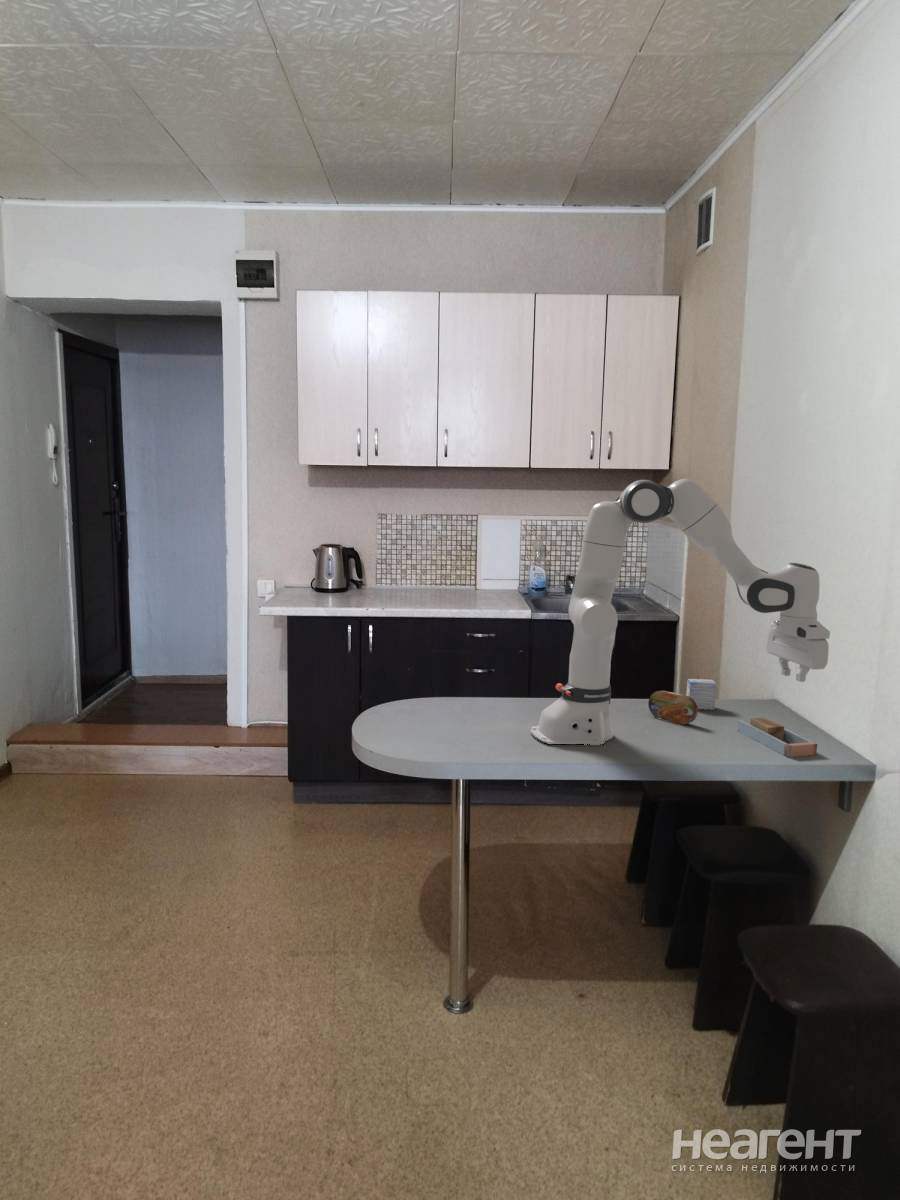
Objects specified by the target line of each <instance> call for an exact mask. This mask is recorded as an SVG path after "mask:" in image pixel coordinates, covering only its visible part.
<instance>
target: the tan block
mask: <svg viewBox="0 0 900 1200" xmlns="http://www.w3.org/2000/svg"><path fill="white" fill-rule="evenodd" d="M749 724H750V725H752V726H754V727H756V728H758V729H760V730H762V731H764V732H766V733H768V734H770V735H772V736H774V737H776V738H777V739H779V740H781V741H783V742H784V740H783V738H784V728H785V726H784V725H782V724H780V723H778V722H776V721H774V720H772V719H771V718H768V717H757V718H756V717H754V718H750V723H749Z"/></svg>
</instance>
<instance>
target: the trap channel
mask: <svg viewBox="0 0 900 1200" xmlns="http://www.w3.org/2000/svg"><path fill="white" fill-rule="evenodd" d="M737 731H738V732H740V733H741V734H743V735H745V736H747V737H749V738H751V739H753V740H754V739H755V740H754V741H756V740H757V742H758V741H759V742H758V743H760V744H762V745H764V746H765V745H767V746H768V748H769V747H770V748H769V749H771V748H772V749H771V750H773V749H774V750H773V751H775V752H777V753H778V752H779V754H780V753H781V755H782V754H783V756H784V757H786V758H795V757H809V756H808V755H810V756H817V750H818V749H817V748H818V743H816V742H815V741H812V740H811V739H809V738H806V737H804V736H802V735H800V734H798V733H795V732H794V731H792V730H790V729H787V728H785V727H784V738H783V741H781V740H779V739H777V738H776V737H774V736H772V735H770V734H768V733H766V732H764V731H762V730H760V729H758V728H756V727H754V726H752V725H750V723H748V722H746V721H744V720H742V719H738V720H737ZM784 740H785V741H784ZM786 741H787V742H786ZM767 746H766V747H767Z"/></svg>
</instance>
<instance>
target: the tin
mask: <svg viewBox="0 0 900 1200" xmlns="http://www.w3.org/2000/svg"><path fill="white" fill-rule="evenodd" d="M686 695H687V694H685V695H684V694H681V693H676V692H673V691H672V692H671V691H667V690H657V691H654V692H653V693H651V695H650V696H649V699H648V702H647V703H648V709H649V712H650V713H651V715H652V716H653V717H654V718H656V717H658V718H661V719H663V720H662V721H665V720H667V721H666V722H669V721H670V723H674V724H678V725H687V724H690V723H693V722H694V721H695V720H696V719H697V717H698V713H699V709H698V707H697V704H696V702H695V701H694V700H693V699H692V698H691V697H689V696H686ZM658 718H657V719H658ZM661 719H660V720H661Z"/></svg>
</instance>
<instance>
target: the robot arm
mask: <svg viewBox="0 0 900 1200" xmlns="http://www.w3.org/2000/svg"><path fill="white" fill-rule="evenodd" d="M664 517H667V518H669V519H670V520H672V521H673V522H674V523H675V524H676V525H677V527H678V528H679V529H680V531H681V532H682V533H683V535H685V536H686V537H687V538H688V539H689V540H690V541H691V542H692V543H693V544H695V545H696V547H698V548H699V549H701V550H702V551H705V552H707V553H709V554H710V555H712V556H713V557H714V558H715V559H716V560H717V561H718V562H719V563H720V565H721V566H722V567H723V568H724V569H725V571H726V572H727V573H728V574H729V576H730V577H731V578H732V579H733V580H734V582H735V586H736V590H737V593H738V596H739V598H740V600H741V601H742V602H743V603H744V604H745V605H747V606H749V607H750V608H751V609H752V610H754V611H756V612H757V613H762V614H769V613H770V614H771V613H776V612H777V613H778V612H779V619H777V620H776V619H775V620H774V621H773V622H772V623H771V625H770V629H769V631H768V634H767V639H766V644H765V649H766V652H767V654H769V655H772V656H774V657H778V663H779V666H780V668H781V671H780V674H781V675H783V676H784V677H789V676H791V672H792V670H791V668H790V667H789V662H791V663H794V664H796V665H799V667H798V668H799V672H798V673H796V674H795V680H796V681H798V682H801V683H803V682H806V681H807V679H806V677H807V675H808V673H809V671H811V670H824V669H825V668H826V667H827V665H828V662H829V660H828V659H829V649H830V647H829V643H828V639H830V636H831V632H830V630H829V629H827V628H826V627H825V626H824V625H822V624H821V622H820V621H819V620H818V613H817V605H818V603H819V599H820V585H821V584H820V574H819V572H818V570H817V569H816V568H814V567H813V566H810V565H806V564H804V563H803V564H802V563H797V562H788V563H787V564H786V565H784V566H782V567H781V568H779V569H777V570H774V571H771V572H768V571H765V570H763V569H761V568H759V567H757V566H755V565H754V564H753V563H752V561H751V560H750V559H749V558H748V556H747V555H746V554H745V553H744V552H743V551H742V549H741V548H740V547H739V546H738V545H737V543H736V541H735V539H734V537H733V533H732V531H733V530H732V525H731V522H730V521H729V520H730V519H728V516H727V515H726V514H725V512H724V511H723V509H722V507H721V506H719V504H718V503H717V502H716V501H715V499H714V498H713V497H712V496H711V495H710V494H709V493H707V492H706V490H704V489H703V488H702V487H701V486H700V485H699V484H697V483H696V482H695V481H693V480H692V479H690V478H682V479H677V480H676V481H673V482H672V483H671V484H669V485H668V486H665V485H663V484H659V483H657V482H654V481H652V480H649V479H638V480H636V481H635V480H634V481H633V482H631V483H630V484H628V485H627V486H626V487H625V488H624V489H623V491H622V492H621V493H620V494H619V496H618V497H617V498H616V499H615V500H614V501H611V500H610V501H608V500H607V501H600V502H597V503H596V504H594V505H593V506H592V508H591V509H590V512H589V514H588V518H587V521H586V524H585V527H584V533H583V538H582V543H581V549H580V554H579V555H580V556H579V562H578V568H577V574H576V577H575V579H574V584H573V588H572V591H571V595H570V601H569V604H568V617H569V620H570V621H571V623H572V624H573V636H572V644H571V650H570V653H569V664H568V681H567V683H566V684H565V685H564V684H562V683H560V682H559V683H556V685H555V689H556V690H557V691H558V692H560V693H561V696H560V697H559V698H557V700H555V701H554V702H552V703H551V704H549V705H548V706H547V707H545V708H544V709H543V710H542V711H541V713H540V716H539V721H538V725H534V726H531V728H530V733H531V732H532V733H533V734H534V735H535V736H536V737H537V738H539V739H540V740H542V741H544V742H546V743H550V744H584V745H583V746H603V745H602V744H604V743H605V744H606V742H608V741H610V740H611V739H613V737H614V732H613V729H612V724H611V715H610V705H611V697H612V685H611V684H610V679H611V661H612V653H613V650H614V649H613V648H614V646H615V638H616V632H617V627H618V620H619V619H618V614H617V611H616V609H615V607H614V605H613V604H612V598H613V594H614V592H615V589H616V586H617V582H618V580H619V578H620V575H621V569H622V566H623V565H622V564H623V558H624V551H625V545H626V540H627V535H628V534H627V533H628V531H629V528H630V527H631V526H632V525H633V524H634V523H639V524H647V523H652V522H654V521H657V520H660V519H662V518H664ZM533 729H535V730H533ZM544 739H545V740H544ZM609 739H610V740H609ZM605 741H606V742H605ZM587 744H588V745H587ZM589 744H590V745H589ZM600 744H601V745H600ZM605 744H604V745H605Z"/></svg>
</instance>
